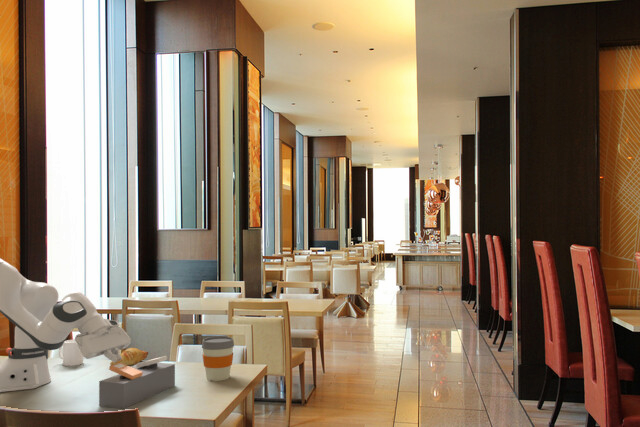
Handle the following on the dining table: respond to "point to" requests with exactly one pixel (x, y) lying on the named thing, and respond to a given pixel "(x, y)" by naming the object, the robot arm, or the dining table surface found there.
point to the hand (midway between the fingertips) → (117, 360)
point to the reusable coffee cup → (217, 357)
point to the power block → (136, 385)
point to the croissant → (131, 356)
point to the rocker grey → (151, 361)
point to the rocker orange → (125, 371)
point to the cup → (71, 353)
